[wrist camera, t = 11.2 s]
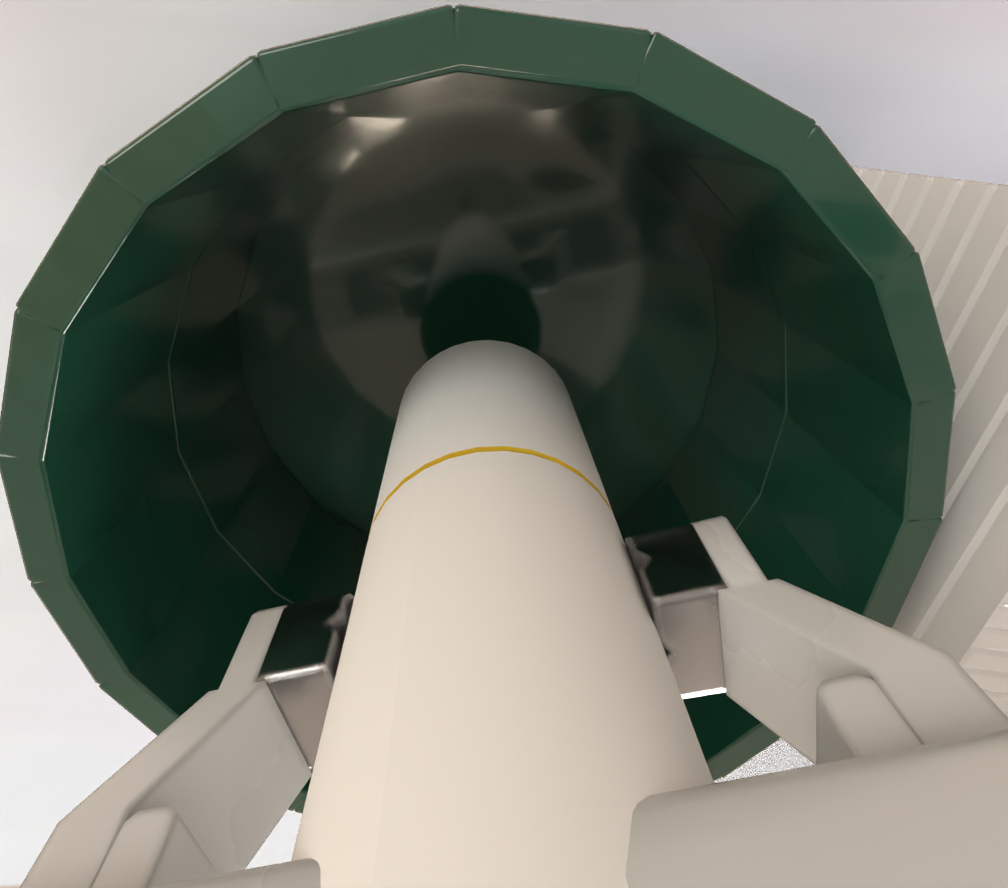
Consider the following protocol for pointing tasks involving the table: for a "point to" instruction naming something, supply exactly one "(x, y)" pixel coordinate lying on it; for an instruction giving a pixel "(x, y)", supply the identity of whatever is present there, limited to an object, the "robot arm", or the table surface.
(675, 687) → the tube
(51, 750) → the table surface
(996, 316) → the cream long block
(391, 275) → the pot
